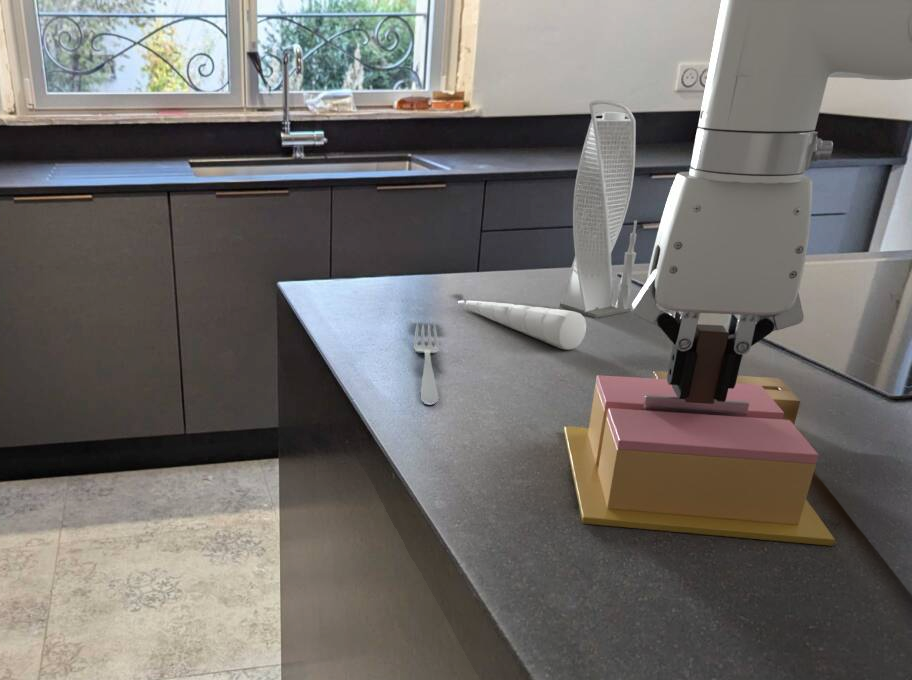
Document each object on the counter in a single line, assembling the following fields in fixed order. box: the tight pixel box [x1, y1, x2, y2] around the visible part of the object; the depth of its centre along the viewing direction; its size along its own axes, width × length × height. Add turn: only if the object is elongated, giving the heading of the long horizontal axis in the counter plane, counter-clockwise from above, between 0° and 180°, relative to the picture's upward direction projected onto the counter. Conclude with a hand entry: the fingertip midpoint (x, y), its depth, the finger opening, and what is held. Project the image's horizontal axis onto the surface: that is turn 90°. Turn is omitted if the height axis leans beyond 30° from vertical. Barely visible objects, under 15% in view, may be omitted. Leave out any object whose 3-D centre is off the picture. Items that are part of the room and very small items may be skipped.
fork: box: [413, 323, 440, 403], centre depth 97 cm, size 3×24×2 cm, turn 174°
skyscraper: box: [559, 99, 638, 319], centre depth 114 cm, size 8×8×28 cm
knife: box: [642, 324, 749, 417], centre depth 68 cm, size 8×2×13 cm, turn 79°
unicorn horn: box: [457, 300, 587, 351], centre depth 111 cm, size 5×24×5 cm, turn 24°
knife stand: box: [651, 370, 802, 425], centre depth 81 cm, size 12×6×4 cm, turn 79°
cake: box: [563, 374, 836, 547], centre depth 69 cm, size 18×18×7 cm
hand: (697, 392), depth 67 cm, fingers closed on knife, 2 cm apart
